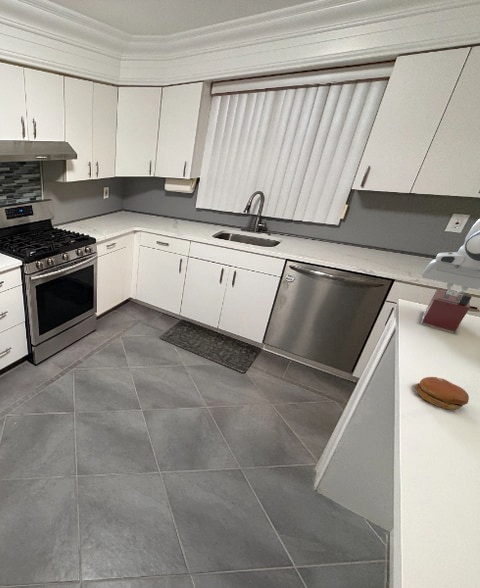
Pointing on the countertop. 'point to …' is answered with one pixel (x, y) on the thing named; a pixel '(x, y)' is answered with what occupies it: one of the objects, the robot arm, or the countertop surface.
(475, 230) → the robot arm
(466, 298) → the browning slider
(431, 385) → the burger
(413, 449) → the countertop surface
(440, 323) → the toaster
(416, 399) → the countertop surface
